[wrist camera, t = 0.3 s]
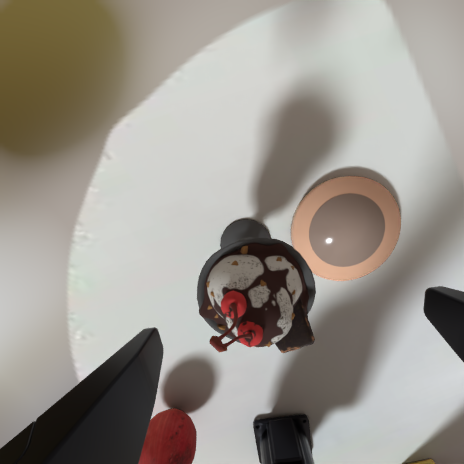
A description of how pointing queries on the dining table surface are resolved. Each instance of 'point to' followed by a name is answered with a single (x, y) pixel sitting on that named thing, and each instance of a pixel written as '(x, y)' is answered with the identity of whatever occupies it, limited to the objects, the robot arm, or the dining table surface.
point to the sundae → (256, 290)
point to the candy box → (424, 462)
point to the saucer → (346, 227)
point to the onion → (169, 439)
